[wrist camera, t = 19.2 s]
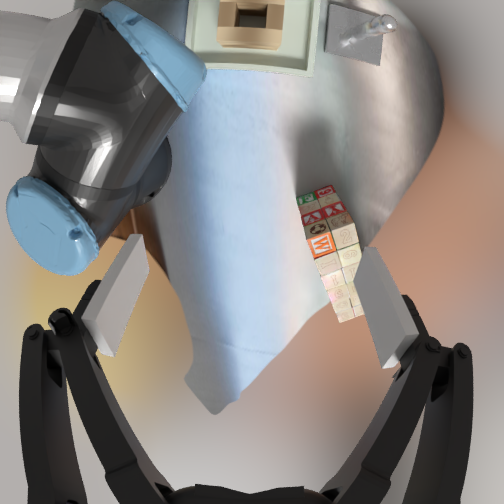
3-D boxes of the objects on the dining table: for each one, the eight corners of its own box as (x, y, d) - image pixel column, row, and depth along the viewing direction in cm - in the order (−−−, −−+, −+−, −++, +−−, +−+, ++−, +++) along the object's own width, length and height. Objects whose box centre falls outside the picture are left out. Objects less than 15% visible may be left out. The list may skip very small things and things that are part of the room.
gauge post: (324, 52, 29) (353, 42, 19) (328, 5, 24) (357, -20, 14) (376, 65, 29) (420, 66, 19) (381, 20, 24) (424, 7, 14)
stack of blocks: (358, 278, 52) (375, 325, 42) (329, 288, 53) (341, 337, 43) (331, 183, 41) (355, 222, 31) (294, 197, 42) (306, 240, 32)
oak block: (223, 47, 28) (216, 40, 23) (227, 4, 24) (221, -11, 18) (276, 50, 28) (281, 44, 23) (280, 7, 24) (285, -8, 19)
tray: (187, 69, 30) (183, 69, 28) (195, -12, 23) (191, -17, 21) (309, 77, 31) (312, 77, 29) (317, -5, 23) (321, -9, 21)
